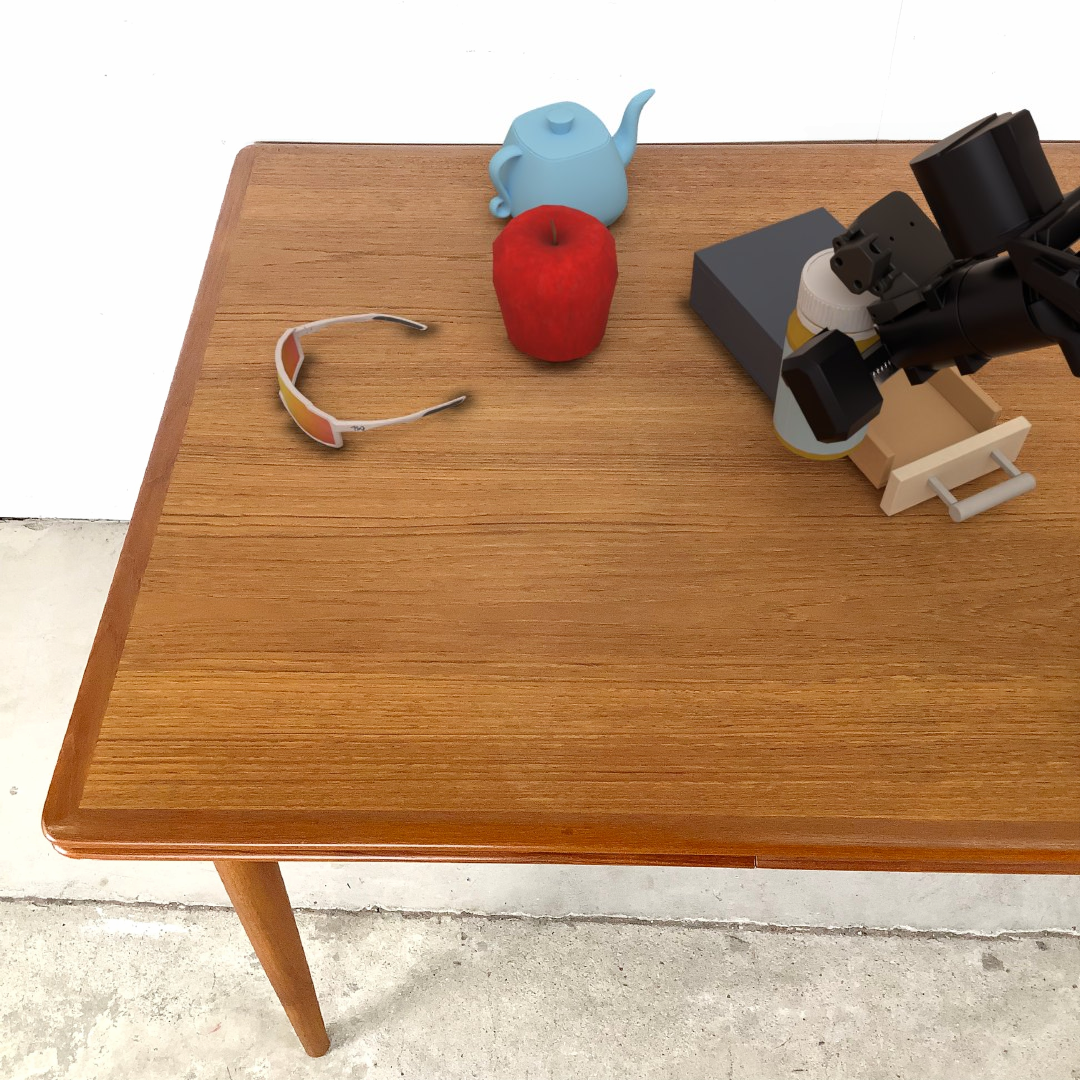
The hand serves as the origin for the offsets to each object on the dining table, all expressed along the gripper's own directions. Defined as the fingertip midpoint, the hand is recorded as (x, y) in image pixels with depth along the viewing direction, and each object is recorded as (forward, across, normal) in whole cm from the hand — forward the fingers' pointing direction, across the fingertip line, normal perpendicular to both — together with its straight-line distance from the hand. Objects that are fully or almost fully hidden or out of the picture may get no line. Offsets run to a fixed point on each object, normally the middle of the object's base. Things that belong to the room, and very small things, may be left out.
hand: (817, 354), depth 81 cm
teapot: (+36, -11, -18) cm, 42 cm away
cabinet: (+16, -13, +2) cm, 21 cm away
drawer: (+5, -9, +12) cm, 16 cm away
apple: (+27, +3, -8) cm, 28 cm away
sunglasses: (+32, +19, -13) cm, 39 cm away
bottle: (+4, 0, +6) cm, 7 cm away
